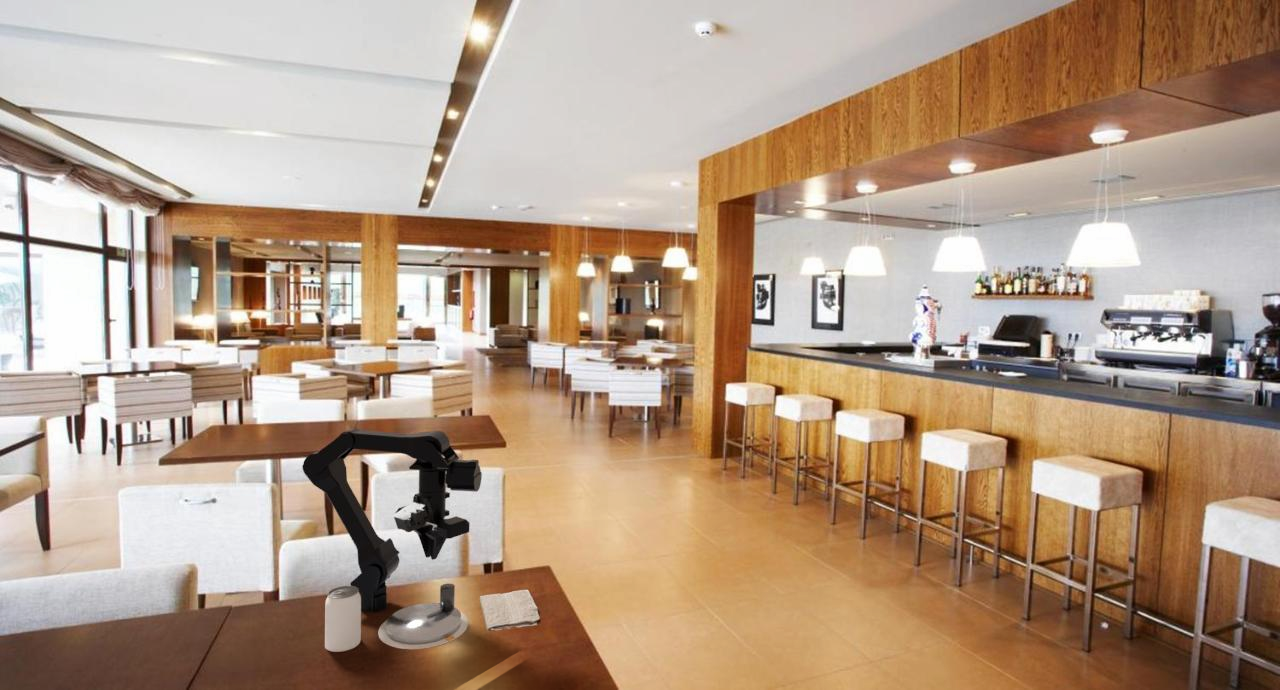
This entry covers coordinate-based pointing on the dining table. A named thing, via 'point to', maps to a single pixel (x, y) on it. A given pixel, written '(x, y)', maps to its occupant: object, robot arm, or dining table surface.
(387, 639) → the dial base
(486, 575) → the dining table surface
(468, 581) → the dining table surface
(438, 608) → the dial
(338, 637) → the can
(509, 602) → the washcloth
